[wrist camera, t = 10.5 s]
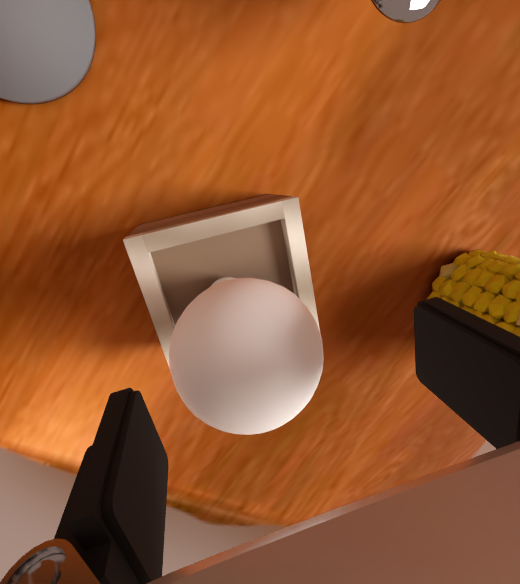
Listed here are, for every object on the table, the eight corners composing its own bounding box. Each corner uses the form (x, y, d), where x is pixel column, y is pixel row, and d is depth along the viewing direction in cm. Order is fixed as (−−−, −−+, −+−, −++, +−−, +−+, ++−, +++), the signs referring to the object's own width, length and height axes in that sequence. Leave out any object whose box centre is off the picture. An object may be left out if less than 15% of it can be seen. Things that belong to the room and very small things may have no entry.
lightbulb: (205, 226, 19) (222, 274, 9) (290, 272, 21) (385, 354, 11) (159, 313, 20) (129, 446, 10) (245, 349, 22) (292, 491, 12)
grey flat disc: (-130, -42, 17) (-140, -50, 16) (25, -118, 17) (20, -127, 17) (-2, 130, 20) (-7, 129, 20) (126, 63, 21) (124, 60, 20)
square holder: (138, 224, 24) (122, 239, 17) (268, 194, 25) (298, 196, 19) (178, 342, 27) (177, 391, 21) (290, 309, 29) (322, 345, 22)
